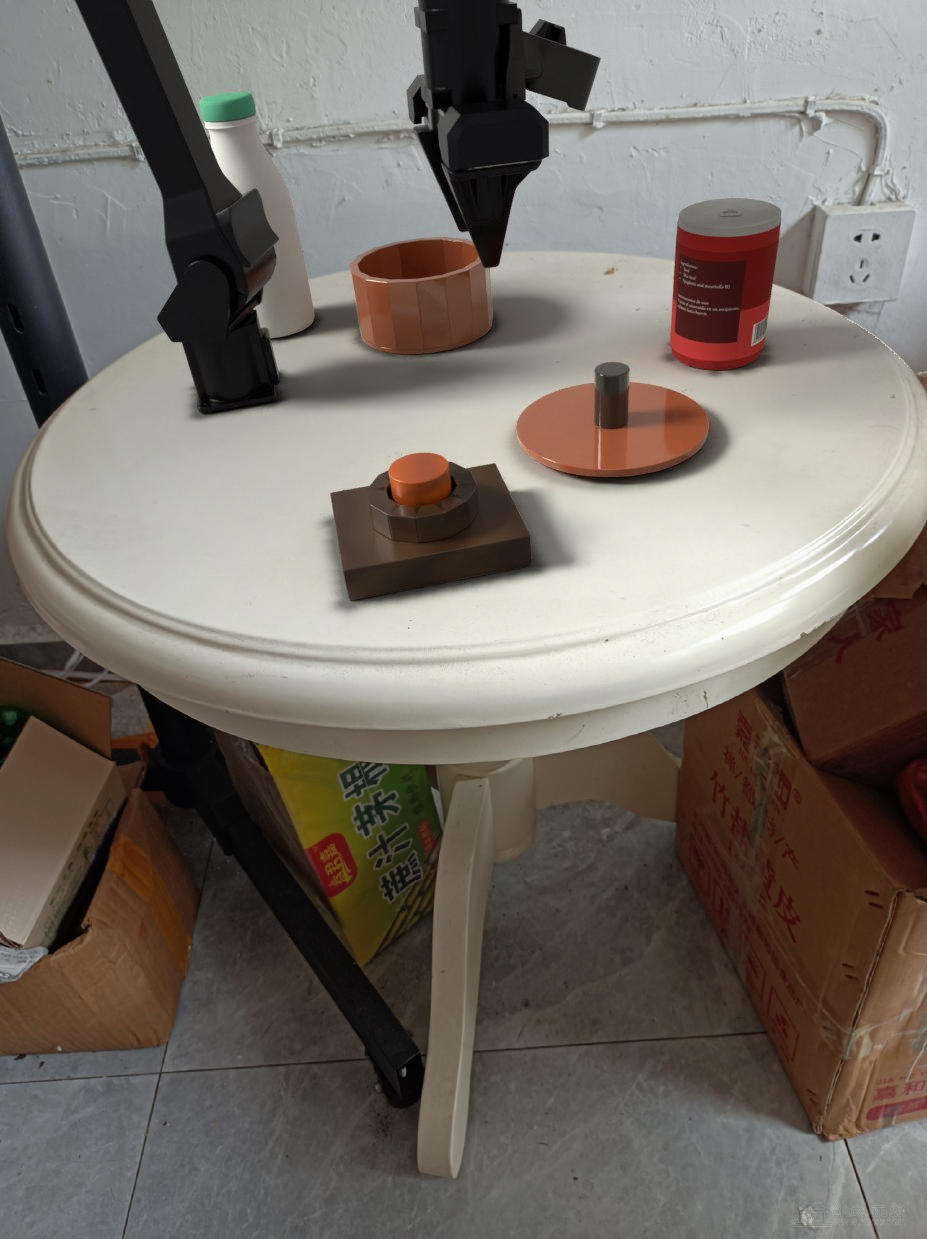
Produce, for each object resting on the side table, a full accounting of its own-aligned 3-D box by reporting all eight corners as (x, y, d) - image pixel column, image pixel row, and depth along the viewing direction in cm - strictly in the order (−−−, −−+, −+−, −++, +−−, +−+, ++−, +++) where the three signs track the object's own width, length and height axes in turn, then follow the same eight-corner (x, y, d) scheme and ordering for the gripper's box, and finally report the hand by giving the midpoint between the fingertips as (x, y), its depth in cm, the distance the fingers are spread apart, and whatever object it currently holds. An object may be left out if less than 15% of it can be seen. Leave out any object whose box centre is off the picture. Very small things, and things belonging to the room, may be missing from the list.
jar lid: (545, 500, 57) (543, 428, 53) (498, 413, 67) (493, 348, 64) (740, 464, 58) (750, 391, 55) (664, 384, 68) (668, 319, 65)
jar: (369, 363, 77) (357, 290, 73) (354, 315, 87) (343, 249, 83) (506, 340, 78) (502, 268, 74) (476, 296, 88) (471, 230, 84)
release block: (349, 601, 50) (336, 544, 48) (335, 520, 57) (324, 467, 54) (532, 565, 51) (529, 508, 49) (497, 491, 58) (493, 437, 56)
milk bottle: (324, 329, 84) (278, 93, 72) (246, 347, 83) (185, 108, 70) (306, 306, 90) (260, 83, 77) (233, 322, 88) (174, 97, 76)
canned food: (747, 329, 75) (764, 193, 68) (776, 366, 69) (798, 221, 62) (659, 338, 75) (667, 203, 69) (680, 376, 69) (691, 232, 62)
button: (396, 513, 50) (392, 487, 49) (388, 483, 53) (384, 458, 52) (457, 502, 51) (454, 476, 50) (445, 472, 53) (442, 447, 52)
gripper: (638, -21, 47) (625, 272, 57) (549, -33, 61) (550, 203, 71) (438, 0, 46) (459, 295, 56) (394, -17, 60) (418, 220, 70)
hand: (478, 248), depth 63 cm, fingers open, 9 cm apart
